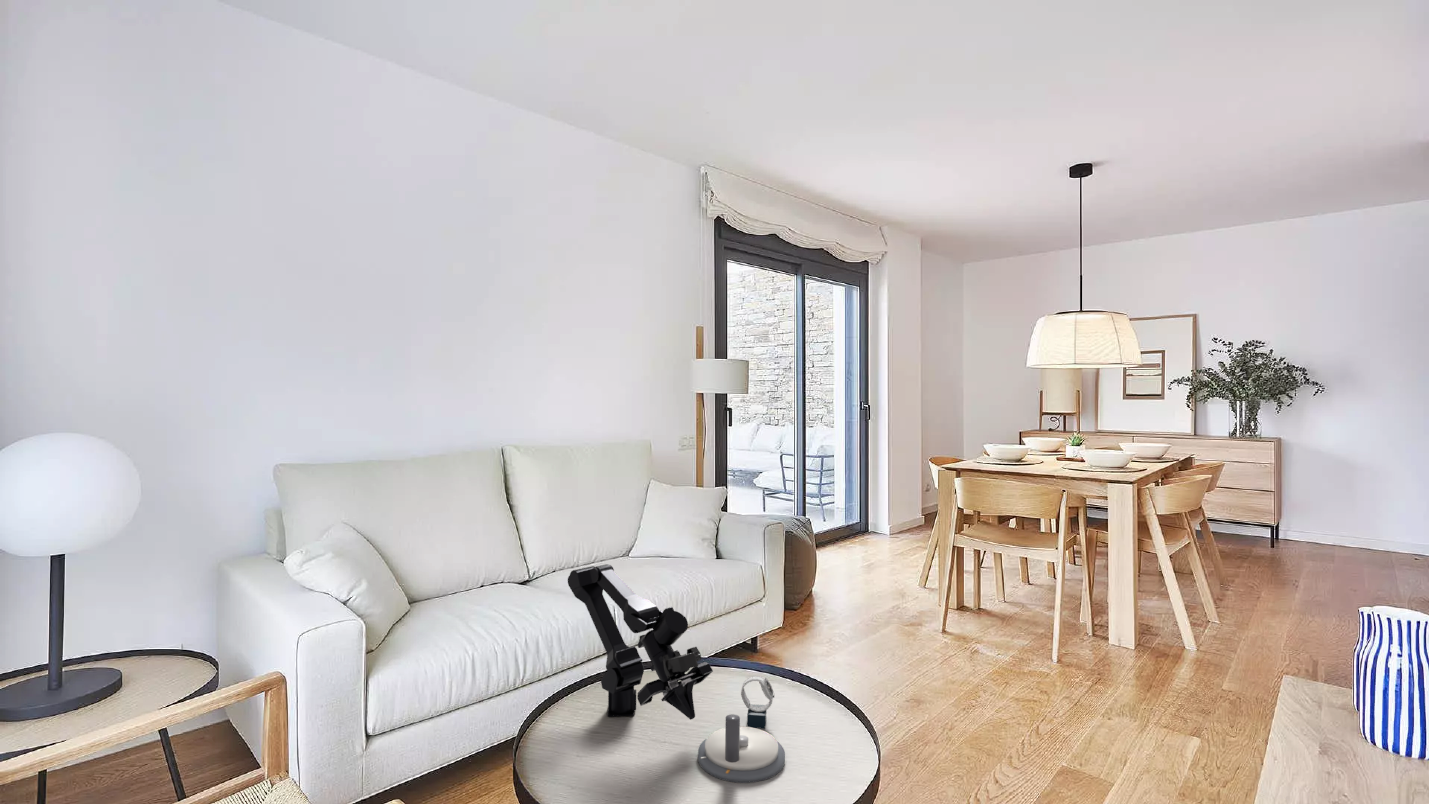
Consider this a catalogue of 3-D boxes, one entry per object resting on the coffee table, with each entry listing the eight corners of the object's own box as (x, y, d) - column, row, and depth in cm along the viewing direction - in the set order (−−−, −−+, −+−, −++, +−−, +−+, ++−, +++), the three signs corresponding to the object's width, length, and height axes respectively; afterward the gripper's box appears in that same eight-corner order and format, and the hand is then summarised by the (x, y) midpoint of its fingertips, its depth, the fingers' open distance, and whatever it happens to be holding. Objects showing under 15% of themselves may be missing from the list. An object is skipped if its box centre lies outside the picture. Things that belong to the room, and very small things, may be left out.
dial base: (701, 784, 150) (701, 776, 150) (695, 738, 169) (695, 731, 169) (792, 780, 152) (792, 773, 152) (776, 735, 171) (776, 728, 171)
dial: (754, 779, 149) (754, 729, 149) (690, 755, 158) (691, 708, 158) (791, 746, 163) (791, 700, 162) (730, 726, 172) (731, 682, 171)
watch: (773, 729, 174) (774, 683, 173) (739, 726, 175) (740, 681, 174) (774, 718, 179) (775, 673, 179) (741, 715, 180) (742, 672, 180)
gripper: (646, 648, 159) (678, 715, 152) (708, 628, 172) (741, 689, 165) (623, 672, 165) (654, 738, 158) (685, 651, 178) (716, 711, 171)
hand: (692, 718), depth 163 cm, fingers closed
